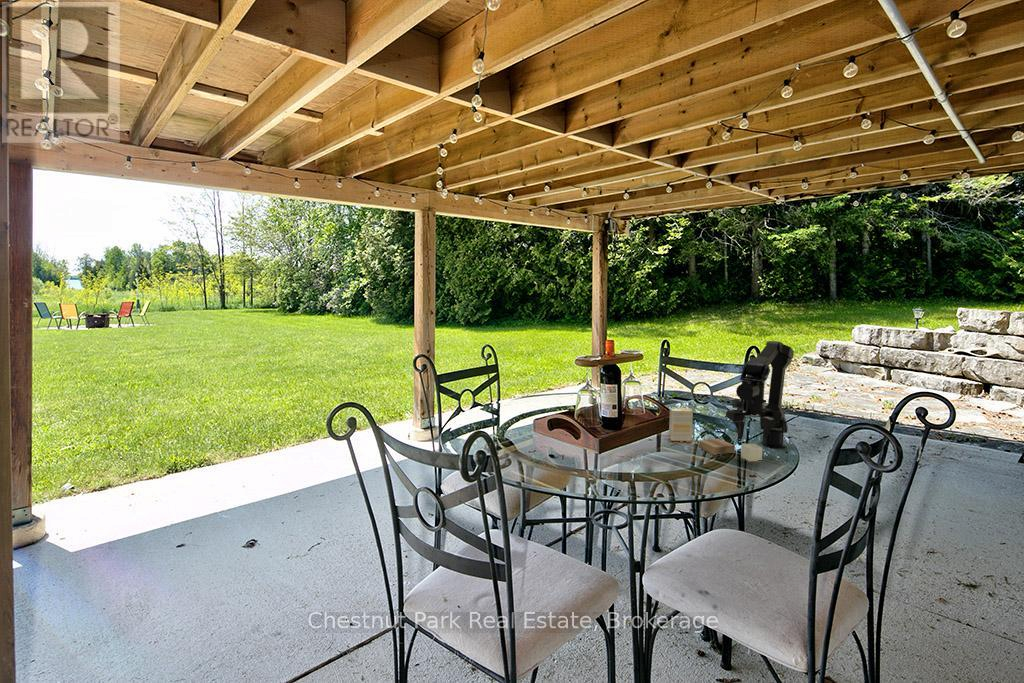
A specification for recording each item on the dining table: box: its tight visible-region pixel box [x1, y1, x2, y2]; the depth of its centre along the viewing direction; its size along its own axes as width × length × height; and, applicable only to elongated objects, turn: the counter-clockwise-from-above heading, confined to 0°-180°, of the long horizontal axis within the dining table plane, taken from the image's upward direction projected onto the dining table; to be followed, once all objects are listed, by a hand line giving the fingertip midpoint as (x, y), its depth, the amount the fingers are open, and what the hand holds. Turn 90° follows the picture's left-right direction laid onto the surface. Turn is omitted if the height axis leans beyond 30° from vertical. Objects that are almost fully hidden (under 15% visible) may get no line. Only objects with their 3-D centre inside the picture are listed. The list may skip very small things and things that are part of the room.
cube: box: [740, 443, 763, 462], centre depth 186 cm, size 5×5×5 cm
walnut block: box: [698, 438, 736, 456], centre depth 195 cm, size 9×9×4 cm
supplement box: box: [668, 407, 694, 443], centre depth 207 cm, size 8×5×13 cm, turn 84°
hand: (752, 437), depth 185 cm, fingers open, 9 cm apart
